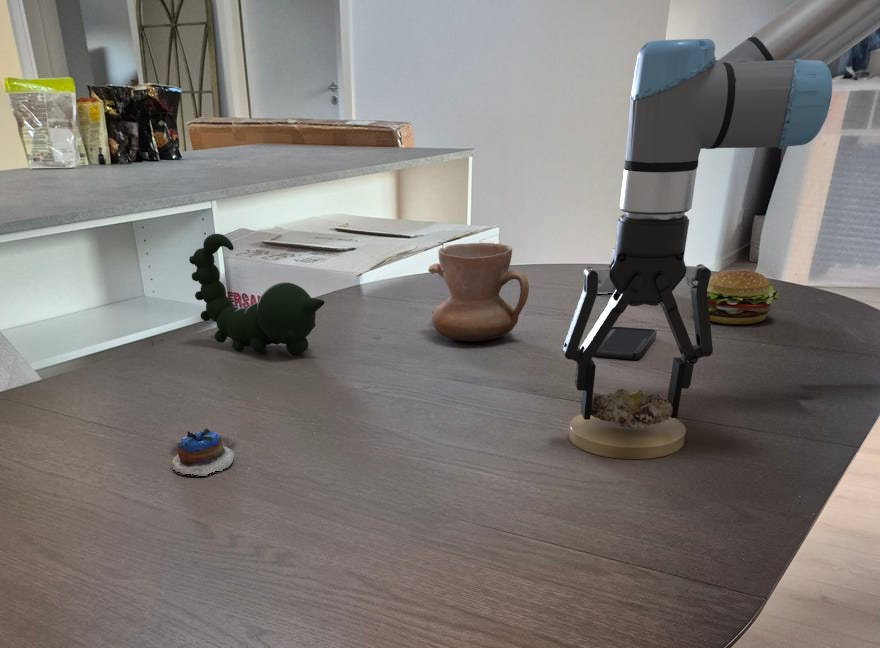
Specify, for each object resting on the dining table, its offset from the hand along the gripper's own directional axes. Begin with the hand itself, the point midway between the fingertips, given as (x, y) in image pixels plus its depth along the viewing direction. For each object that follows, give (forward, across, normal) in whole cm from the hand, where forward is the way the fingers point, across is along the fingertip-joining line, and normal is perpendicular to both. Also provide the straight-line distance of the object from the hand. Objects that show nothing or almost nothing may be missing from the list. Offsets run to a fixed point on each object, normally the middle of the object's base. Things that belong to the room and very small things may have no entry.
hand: (628, 415), depth 104 cm
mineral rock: (0, 0, 0) cm, 0 cm away
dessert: (+3, +52, +6) cm, 52 cm away
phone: (+3, -8, -41) cm, 42 cm away
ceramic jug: (+3, +16, -49) cm, 52 cm away
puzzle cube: (+3, -16, -78) cm, 80 cm away
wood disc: (+3, 0, 0) cm, 3 cm away
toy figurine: (+3, +52, -44) cm, 68 cm away
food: (+3, -31, -58) cm, 66 cm away
